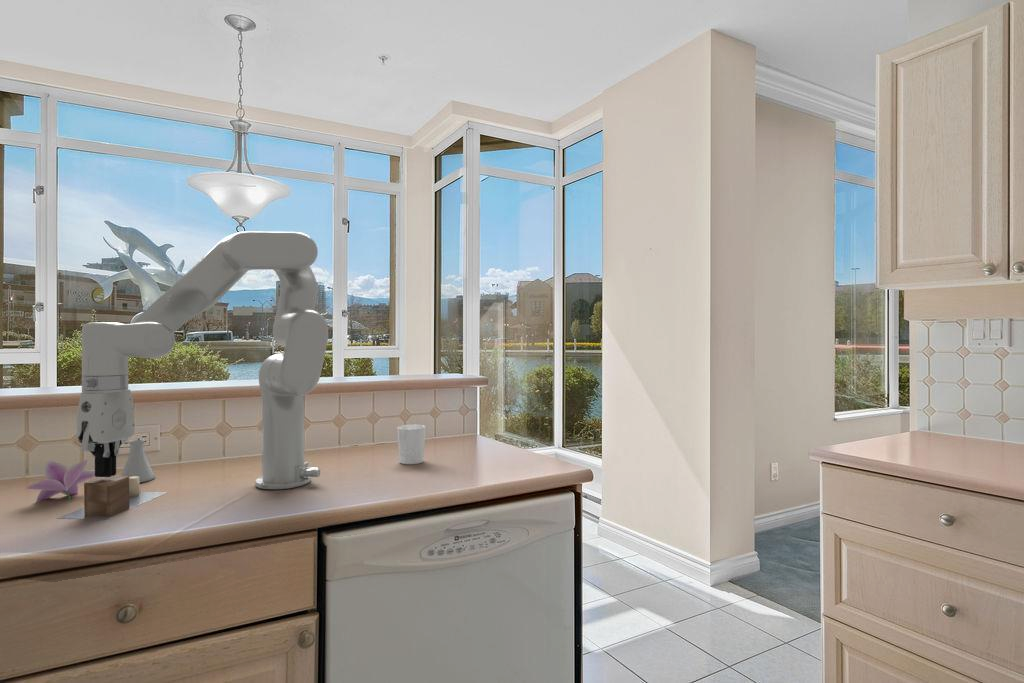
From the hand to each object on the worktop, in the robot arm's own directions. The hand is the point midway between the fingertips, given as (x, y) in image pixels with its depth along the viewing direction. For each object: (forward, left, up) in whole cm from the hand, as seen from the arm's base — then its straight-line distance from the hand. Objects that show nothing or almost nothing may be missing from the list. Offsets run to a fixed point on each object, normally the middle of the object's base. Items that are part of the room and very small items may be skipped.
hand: (105, 475), depth 112 cm
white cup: (-50, -50, -8) cm, 71 cm away
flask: (+13, -26, -9) cm, 30 cm away
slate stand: (+2, -5, -8) cm, 10 cm away
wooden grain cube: (0, 0, -7) cm, 7 cm away
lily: (+16, -8, -9) cm, 20 cm away
